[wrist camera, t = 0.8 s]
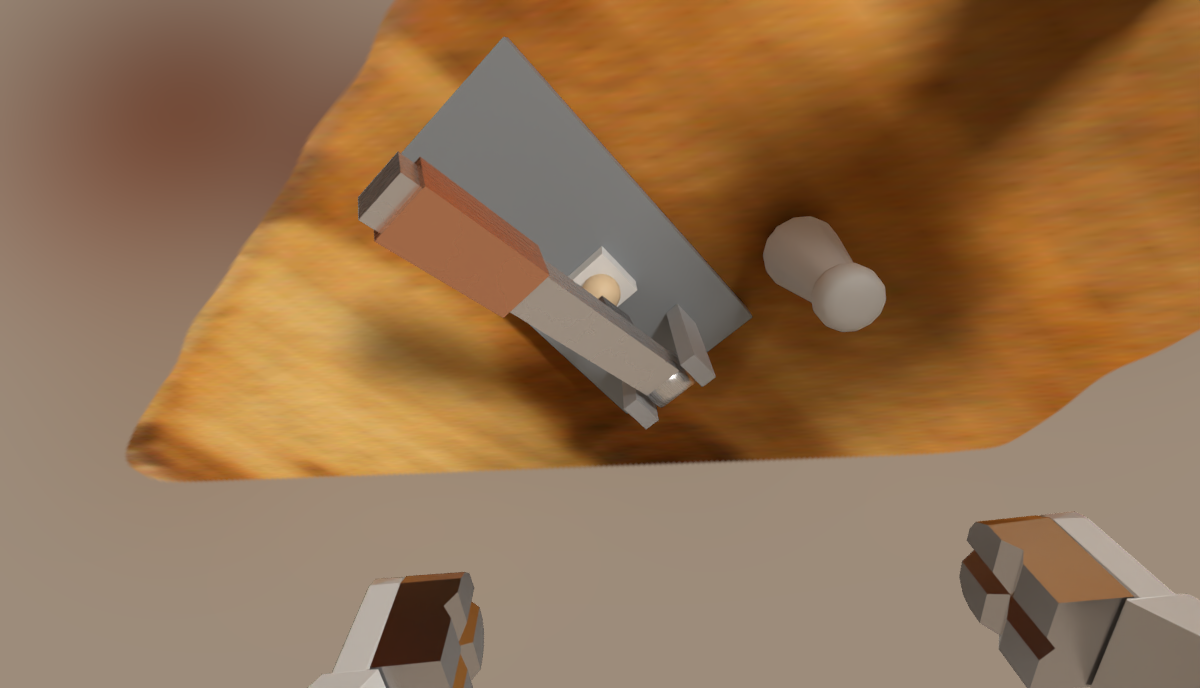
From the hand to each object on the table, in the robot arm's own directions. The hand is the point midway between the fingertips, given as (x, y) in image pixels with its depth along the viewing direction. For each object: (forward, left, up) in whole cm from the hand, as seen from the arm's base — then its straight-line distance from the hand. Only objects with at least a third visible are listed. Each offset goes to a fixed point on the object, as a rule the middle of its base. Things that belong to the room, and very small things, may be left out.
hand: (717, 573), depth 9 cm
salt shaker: (-6, +14, -39) cm, 42 cm away
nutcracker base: (+7, +2, -39) cm, 39 cm away
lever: (+7, +1, -27) cm, 27 cm away
